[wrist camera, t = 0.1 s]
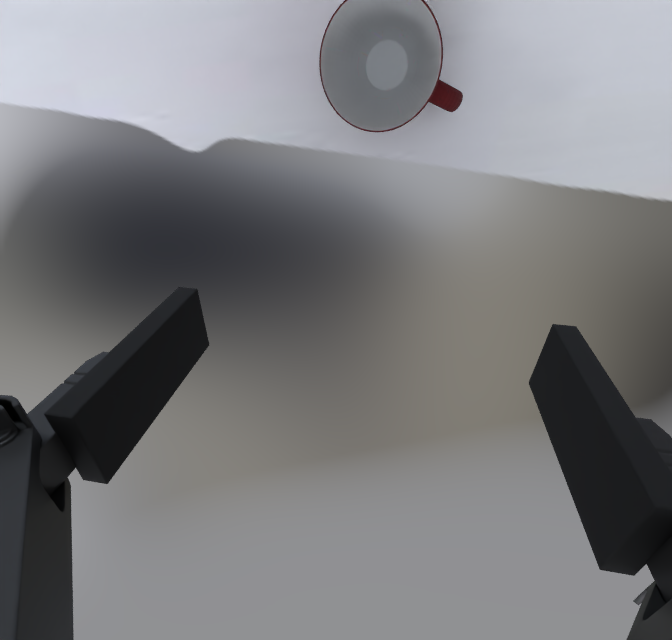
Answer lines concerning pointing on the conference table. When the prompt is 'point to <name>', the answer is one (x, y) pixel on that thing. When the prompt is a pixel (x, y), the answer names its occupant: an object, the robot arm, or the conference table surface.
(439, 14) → the conference table surface
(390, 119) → the mug
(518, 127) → the conference table surface
